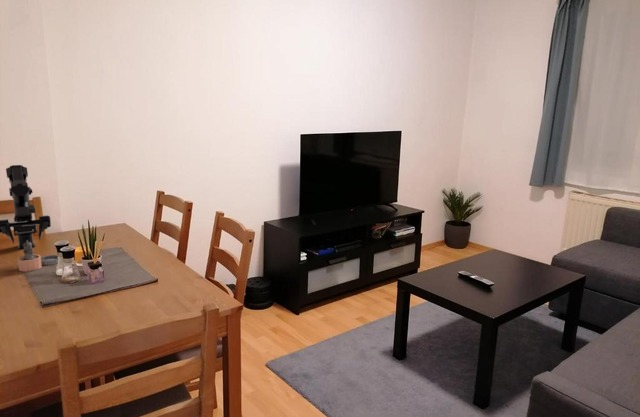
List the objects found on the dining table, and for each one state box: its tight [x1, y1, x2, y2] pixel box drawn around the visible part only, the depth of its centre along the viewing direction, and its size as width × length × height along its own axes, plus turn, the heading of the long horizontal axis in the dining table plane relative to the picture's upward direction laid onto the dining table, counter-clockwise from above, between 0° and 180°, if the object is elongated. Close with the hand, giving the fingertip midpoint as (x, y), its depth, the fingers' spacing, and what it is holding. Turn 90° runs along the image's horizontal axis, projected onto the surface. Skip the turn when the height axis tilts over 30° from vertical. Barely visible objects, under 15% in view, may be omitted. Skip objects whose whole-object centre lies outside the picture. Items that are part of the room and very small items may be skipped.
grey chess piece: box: [23, 240, 36, 260], centre depth 186 cm, size 6×6×12 cm
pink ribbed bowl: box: [17, 254, 43, 272], centre depth 187 cm, size 8×8×4 cm
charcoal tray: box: [41, 254, 58, 266], centre depth 195 cm, size 8×8×2 cm
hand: (26, 240), depth 188 cm, fingers open, 9 cm apart
